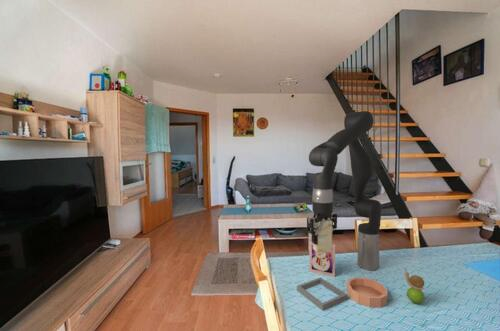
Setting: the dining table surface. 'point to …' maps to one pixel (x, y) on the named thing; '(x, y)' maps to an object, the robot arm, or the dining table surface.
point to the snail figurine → (415, 288)
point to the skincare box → (324, 238)
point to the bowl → (367, 292)
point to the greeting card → (322, 261)
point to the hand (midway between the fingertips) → (322, 241)
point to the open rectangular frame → (318, 303)
